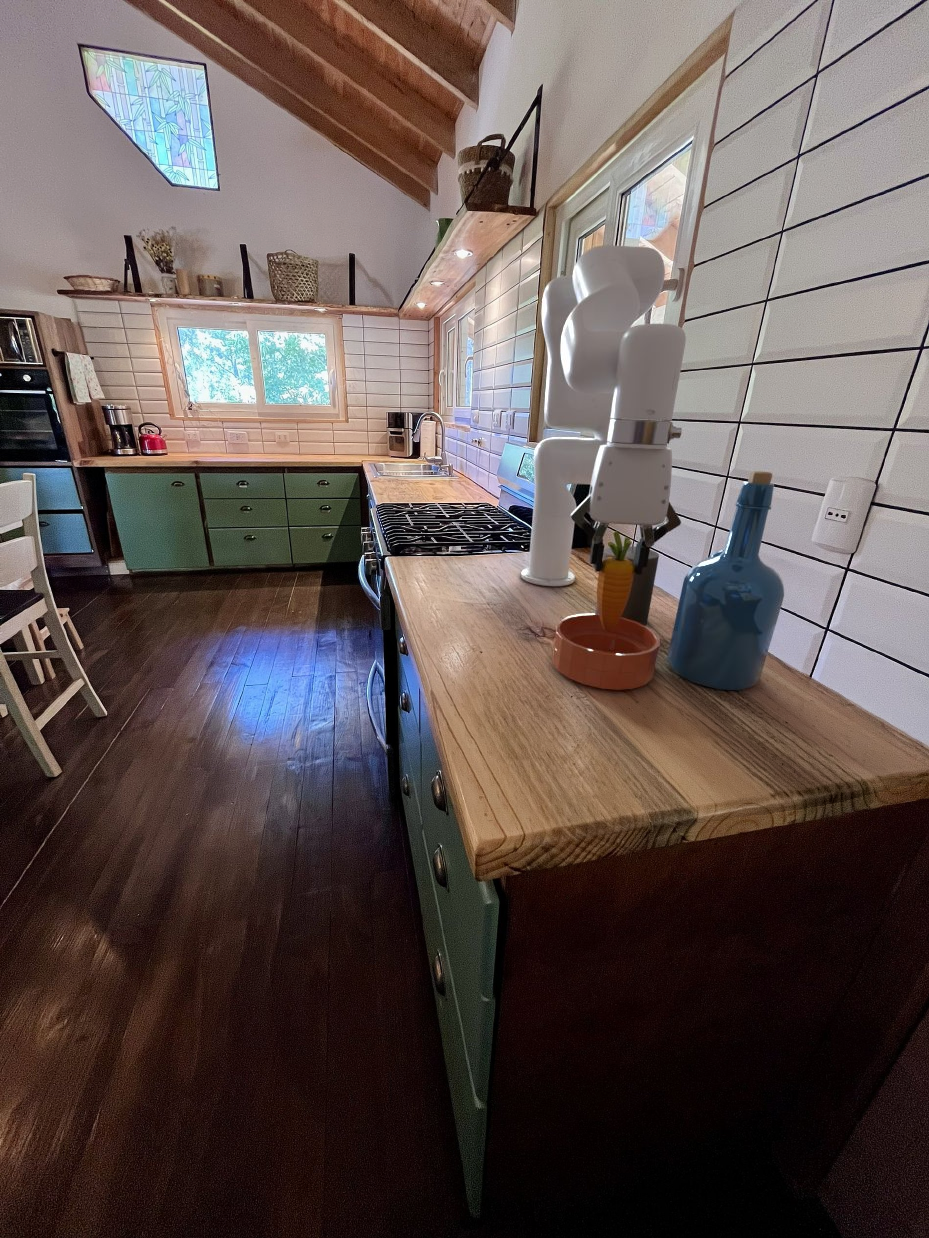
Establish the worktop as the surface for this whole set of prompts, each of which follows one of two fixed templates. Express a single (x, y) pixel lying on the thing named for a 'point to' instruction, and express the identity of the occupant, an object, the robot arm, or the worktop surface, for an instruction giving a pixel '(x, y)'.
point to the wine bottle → (730, 602)
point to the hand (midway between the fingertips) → (616, 569)
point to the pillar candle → (638, 587)
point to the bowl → (605, 652)
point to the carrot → (614, 583)
